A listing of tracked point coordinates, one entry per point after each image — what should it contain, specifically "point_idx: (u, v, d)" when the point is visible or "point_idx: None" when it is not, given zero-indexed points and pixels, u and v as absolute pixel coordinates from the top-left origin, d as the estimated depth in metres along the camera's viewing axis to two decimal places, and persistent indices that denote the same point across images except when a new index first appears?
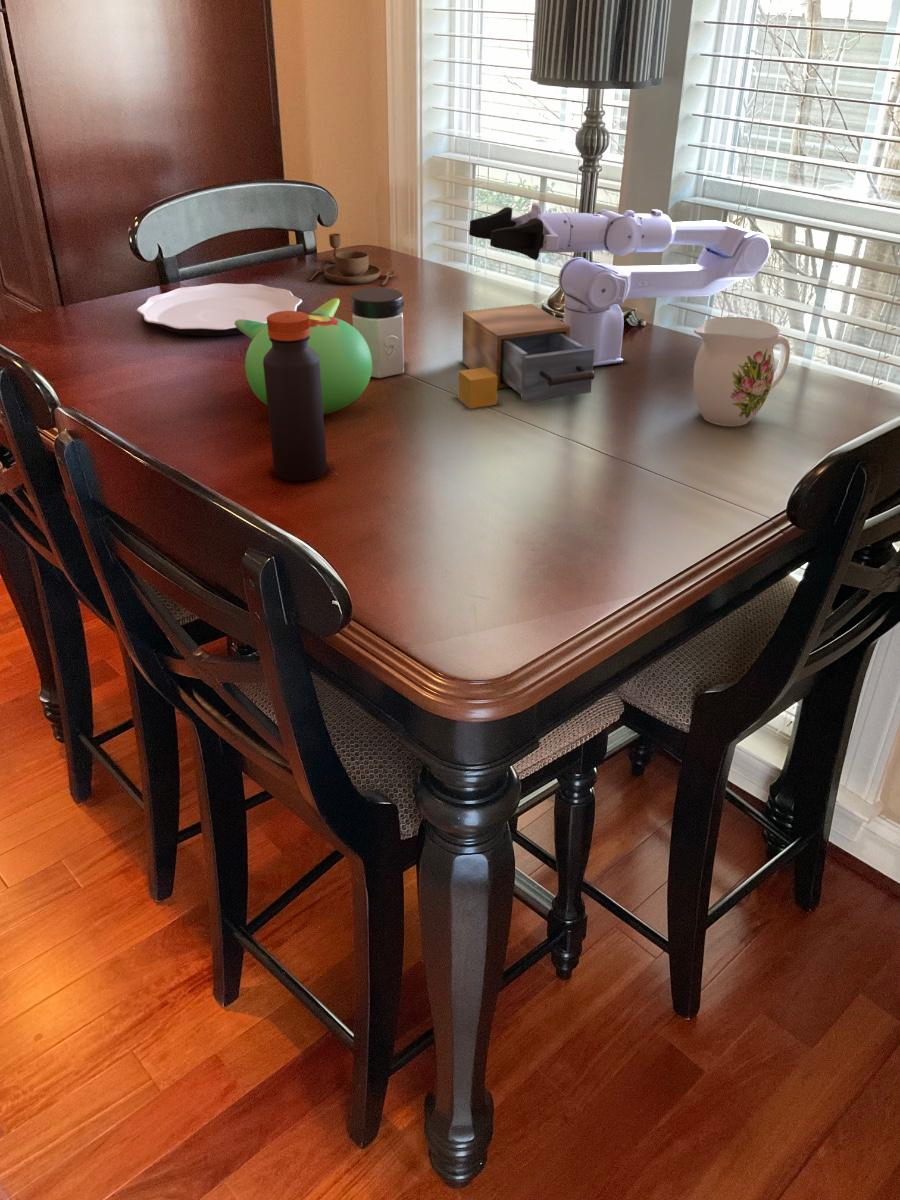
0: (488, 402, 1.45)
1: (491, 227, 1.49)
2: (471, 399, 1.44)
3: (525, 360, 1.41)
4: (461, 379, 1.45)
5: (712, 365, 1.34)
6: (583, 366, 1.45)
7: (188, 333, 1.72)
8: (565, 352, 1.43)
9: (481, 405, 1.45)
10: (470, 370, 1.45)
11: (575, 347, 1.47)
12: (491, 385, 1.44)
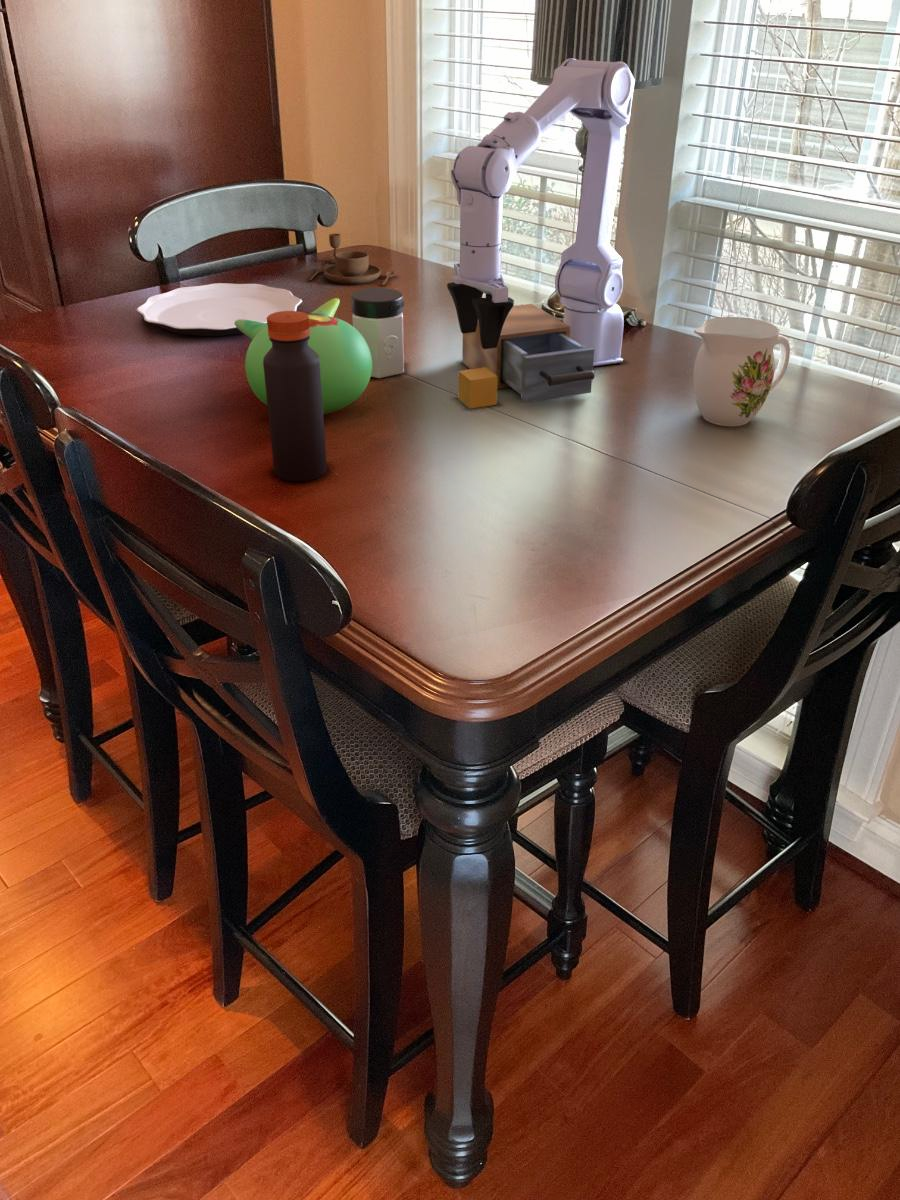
0: (488, 402, 1.45)
1: (468, 309, 1.43)
2: (471, 399, 1.44)
3: (525, 360, 1.41)
4: (461, 379, 1.45)
5: (712, 365, 1.34)
6: (583, 366, 1.45)
7: (188, 333, 1.72)
8: (565, 352, 1.43)
9: (481, 405, 1.45)
10: (470, 370, 1.45)
11: (575, 347, 1.47)
12: (491, 385, 1.44)
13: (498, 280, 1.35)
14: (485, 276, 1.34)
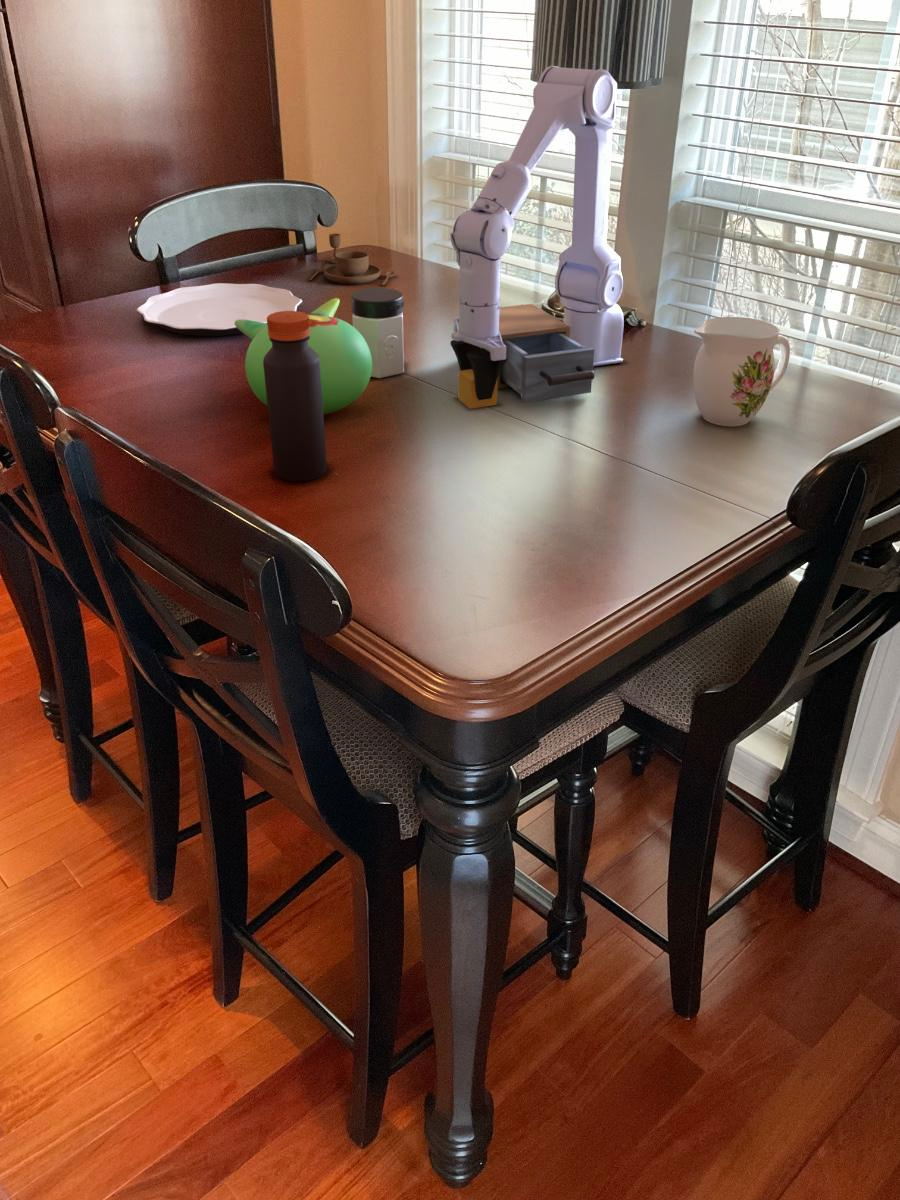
0: (488, 402, 1.45)
1: (471, 365, 1.46)
2: (471, 399, 1.44)
3: (525, 360, 1.41)
4: (461, 379, 1.45)
5: (712, 365, 1.34)
6: (583, 366, 1.45)
7: (188, 333, 1.72)
8: (565, 352, 1.43)
9: (481, 405, 1.45)
10: (470, 370, 1.45)
11: (575, 347, 1.47)
12: None
13: (496, 337, 1.40)
14: (484, 334, 1.38)
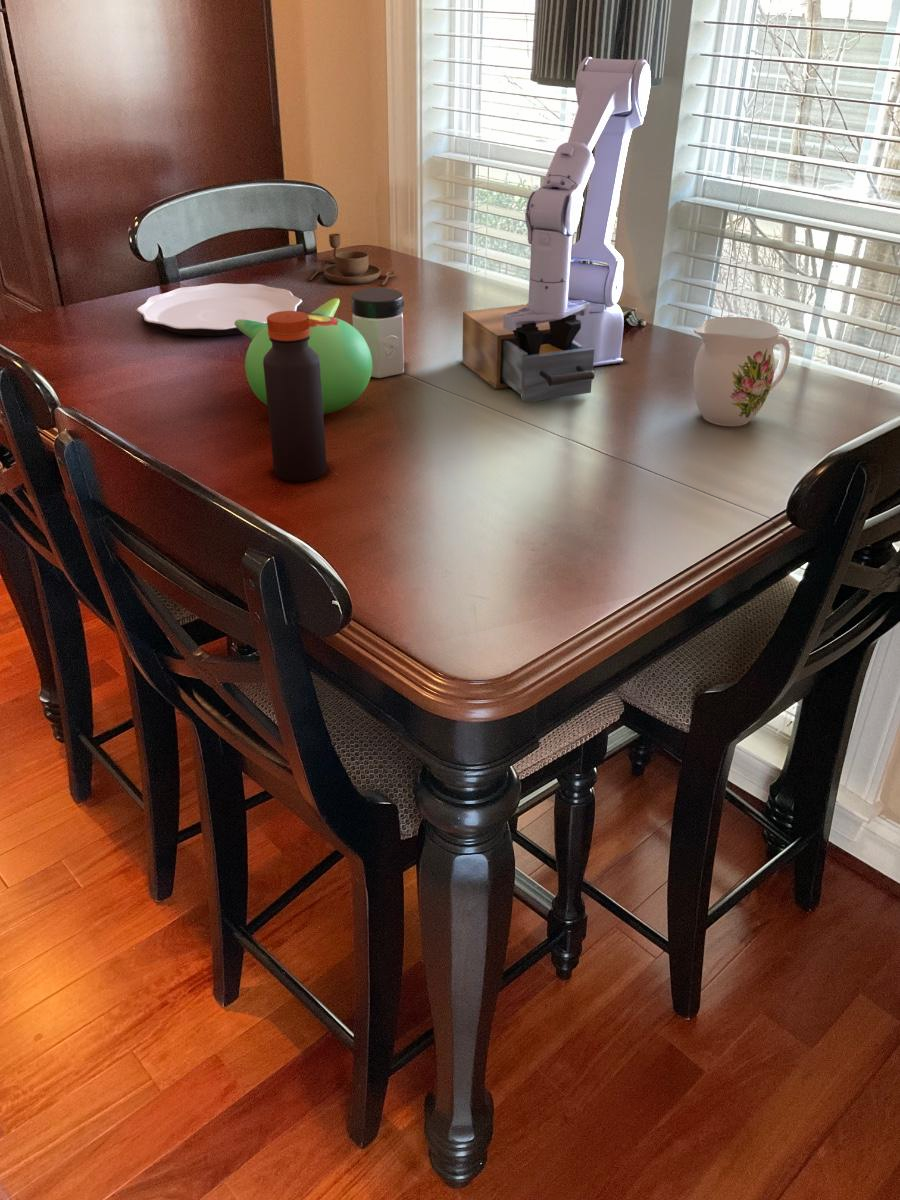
0: None
1: (557, 344, 1.48)
2: None
3: (525, 360, 1.41)
4: None
5: (712, 365, 1.34)
6: (583, 366, 1.45)
7: (188, 333, 1.72)
8: (565, 352, 1.43)
9: None
10: (551, 347, 1.48)
11: (575, 347, 1.47)
12: None
13: None
14: (530, 307, 1.42)
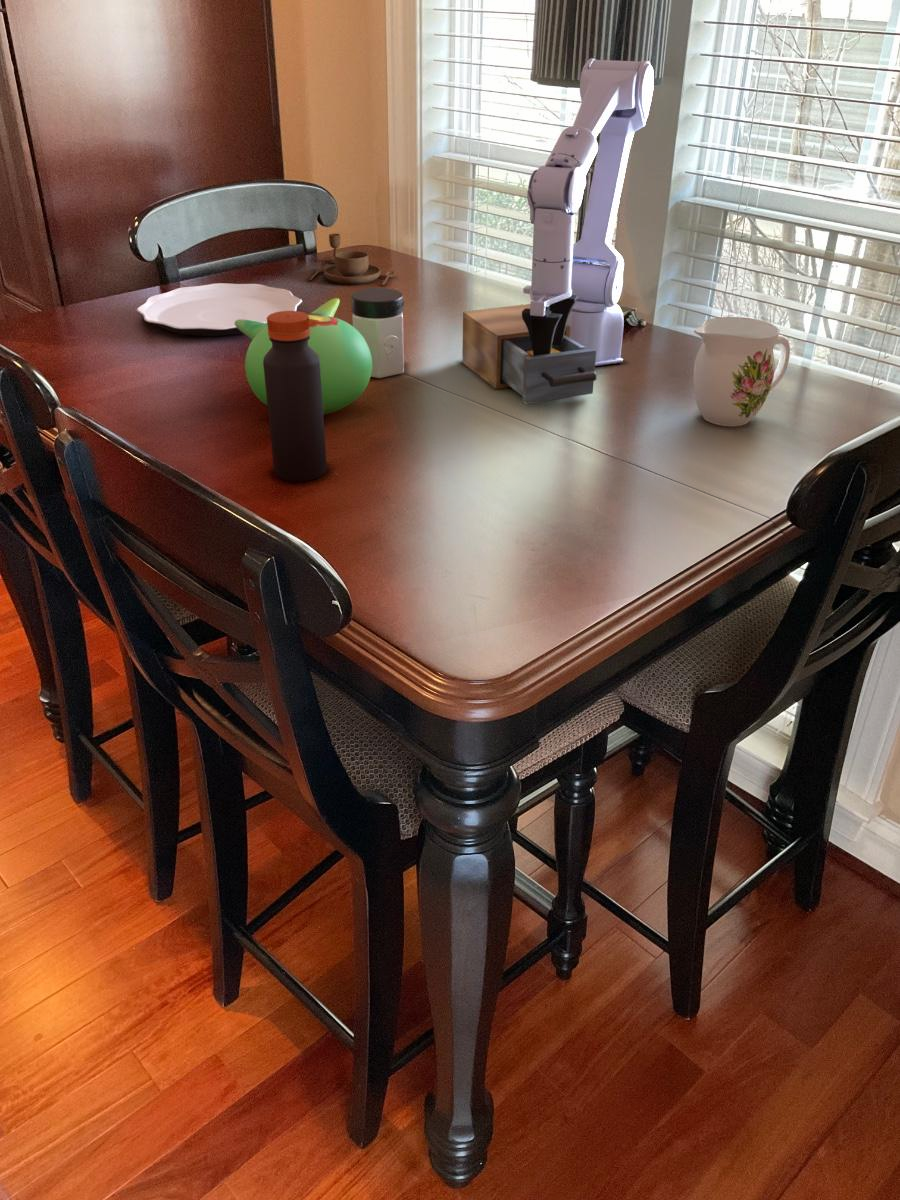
0: None
1: None
2: None
3: (527, 361, 1.41)
4: None
5: (712, 365, 1.34)
6: (585, 367, 1.45)
7: (188, 333, 1.72)
8: (567, 353, 1.43)
9: None
10: (553, 350, 1.48)
11: (577, 348, 1.46)
12: None
13: None
14: (543, 290, 1.39)
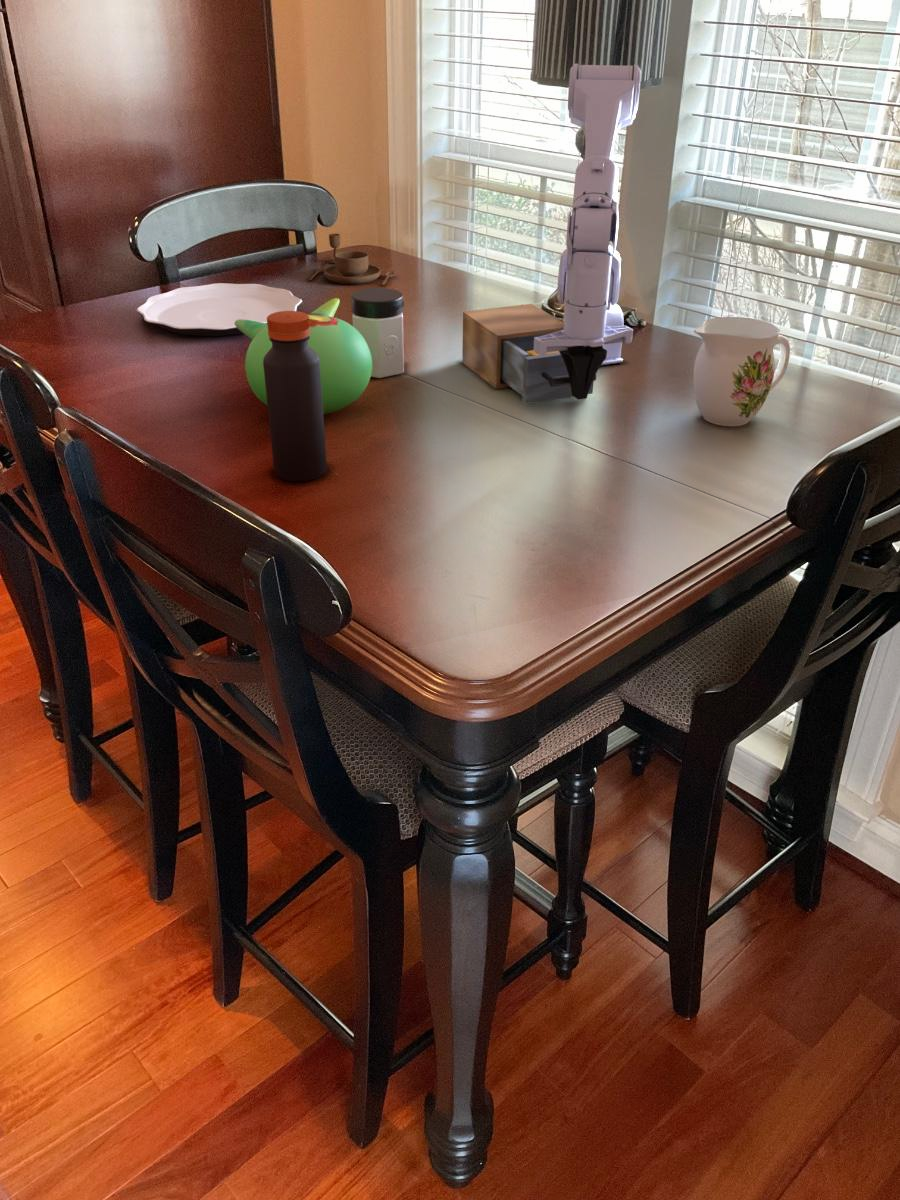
0: None
1: None
2: None
3: (526, 361, 1.41)
4: None
5: (712, 365, 1.34)
6: None
7: (188, 333, 1.72)
8: None
9: None
10: None
11: None
12: None
13: None
14: None
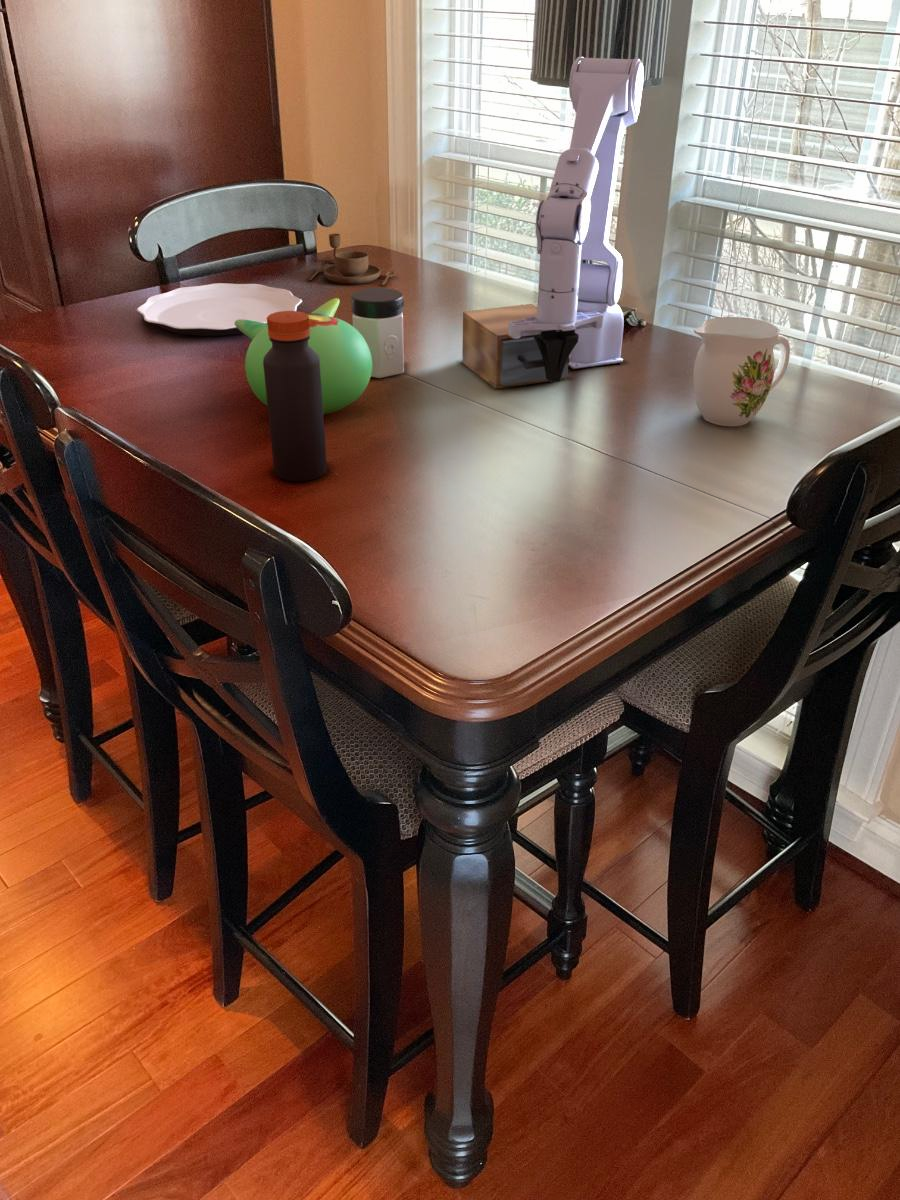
0: None
1: None
2: None
3: (503, 345, 1.47)
4: None
5: (712, 365, 1.34)
6: None
7: (188, 333, 1.72)
8: None
9: None
10: None
11: None
12: None
13: None
14: None
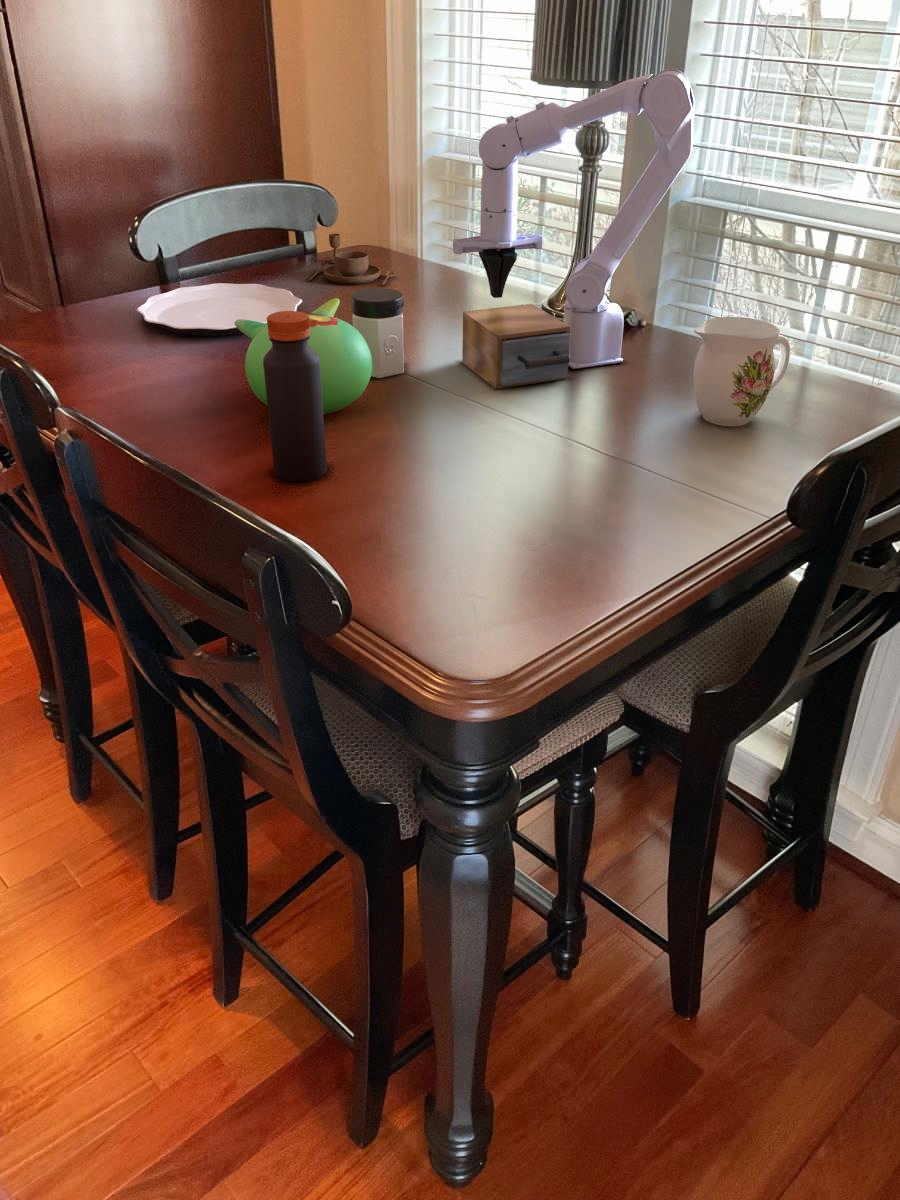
0: None
1: None
2: None
3: (503, 345, 1.47)
4: None
5: (712, 365, 1.34)
6: (559, 351, 1.51)
7: (188, 333, 1.72)
8: (542, 337, 1.49)
9: None
10: None
11: (552, 333, 1.52)
12: None
13: None
14: None
